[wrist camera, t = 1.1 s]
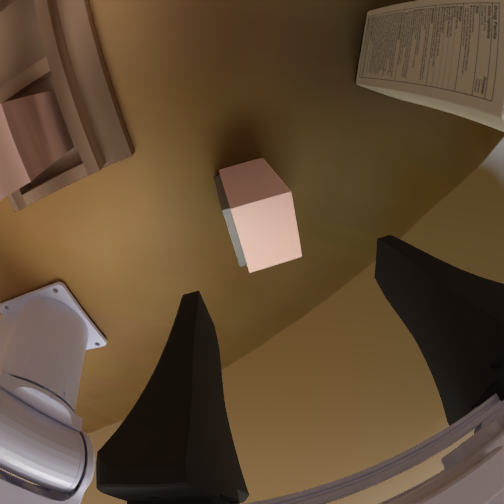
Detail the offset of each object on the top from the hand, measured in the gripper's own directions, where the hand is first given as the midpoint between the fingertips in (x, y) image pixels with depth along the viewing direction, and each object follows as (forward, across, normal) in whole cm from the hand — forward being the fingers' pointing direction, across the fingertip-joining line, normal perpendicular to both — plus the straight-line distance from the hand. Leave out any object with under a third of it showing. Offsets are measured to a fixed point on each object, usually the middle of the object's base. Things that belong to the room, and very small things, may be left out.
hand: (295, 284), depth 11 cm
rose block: (+10, 0, 0) cm, 10 cm away
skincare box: (+11, -12, -8) cm, 18 cm away
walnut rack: (+10, +12, -15) cm, 22 cm away
